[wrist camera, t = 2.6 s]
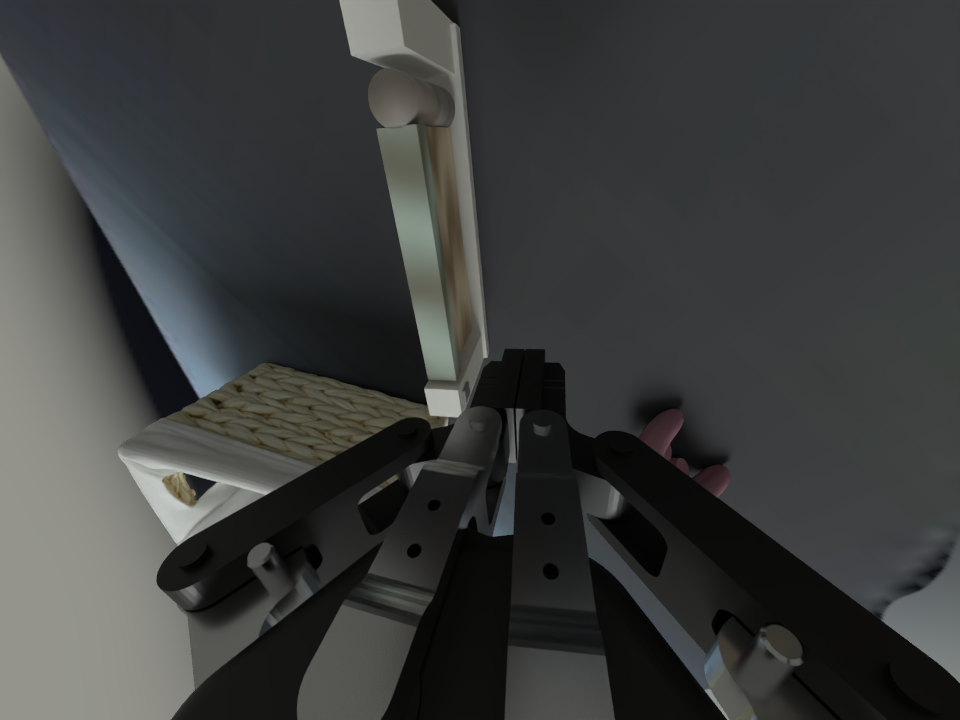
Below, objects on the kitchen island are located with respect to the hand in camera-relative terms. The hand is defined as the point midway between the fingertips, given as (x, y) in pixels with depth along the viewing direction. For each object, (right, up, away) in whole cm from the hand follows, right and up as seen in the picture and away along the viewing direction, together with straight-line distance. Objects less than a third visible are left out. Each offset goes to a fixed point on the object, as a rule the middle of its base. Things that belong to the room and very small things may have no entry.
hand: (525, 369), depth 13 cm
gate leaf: (-4, +10, +12) cm, 16 cm away
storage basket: (-16, -7, +28) cm, 33 cm away
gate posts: (-3, +11, +13) cm, 17 cm away
